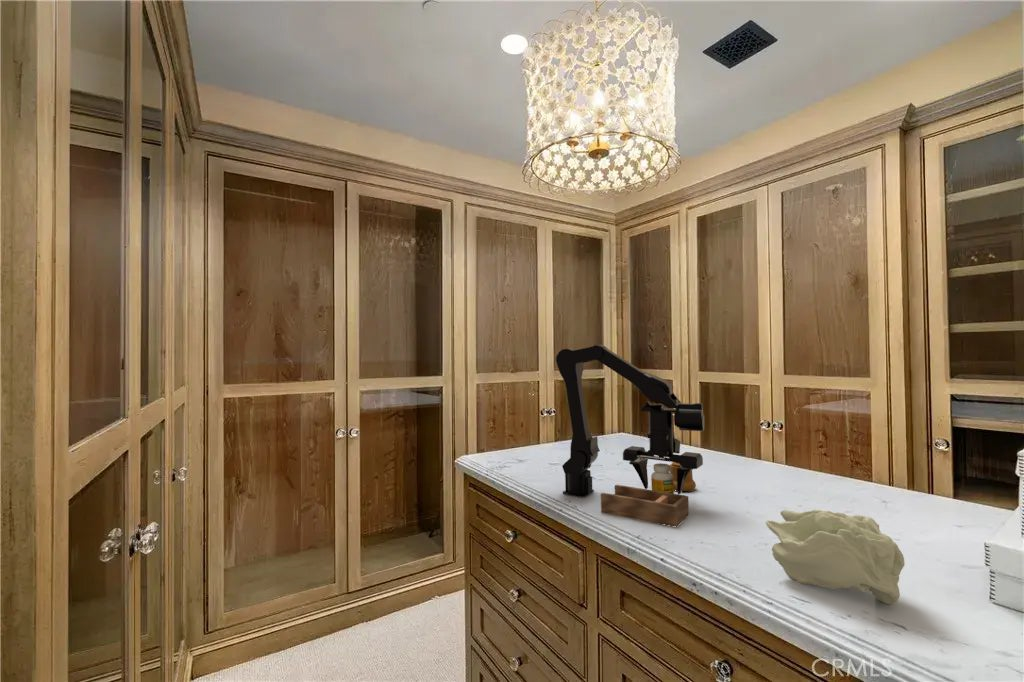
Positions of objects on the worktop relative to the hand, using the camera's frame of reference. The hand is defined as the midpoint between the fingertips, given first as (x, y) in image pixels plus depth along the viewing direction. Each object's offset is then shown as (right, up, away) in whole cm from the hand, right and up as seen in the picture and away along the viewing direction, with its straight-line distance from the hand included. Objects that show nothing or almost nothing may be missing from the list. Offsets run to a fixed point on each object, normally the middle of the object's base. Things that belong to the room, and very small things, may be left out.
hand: (662, 491), depth 121 cm
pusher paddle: (-3, -2, -10) cm, 11 cm away
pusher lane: (-7, -3, -7) cm, 10 cm away
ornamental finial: (+9, -3, +12) cm, 15 cm away
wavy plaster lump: (+14, -2, -43) cm, 45 cm away
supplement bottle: (0, -3, 0) cm, 3 cm away
